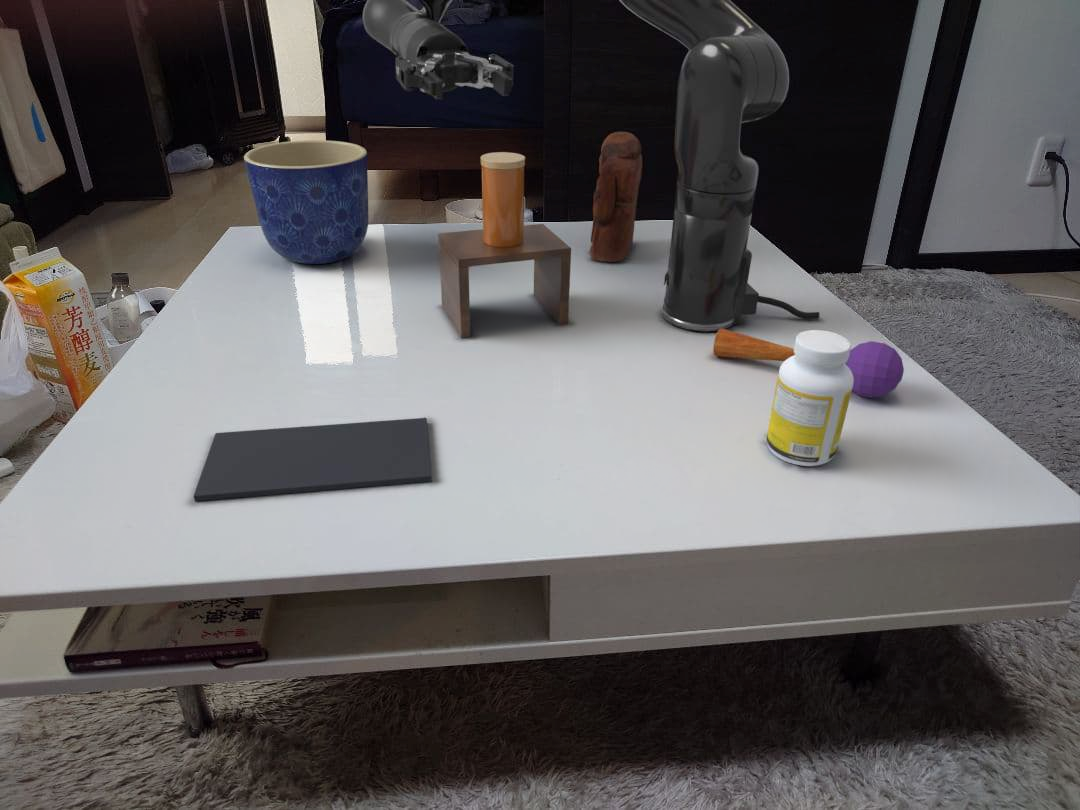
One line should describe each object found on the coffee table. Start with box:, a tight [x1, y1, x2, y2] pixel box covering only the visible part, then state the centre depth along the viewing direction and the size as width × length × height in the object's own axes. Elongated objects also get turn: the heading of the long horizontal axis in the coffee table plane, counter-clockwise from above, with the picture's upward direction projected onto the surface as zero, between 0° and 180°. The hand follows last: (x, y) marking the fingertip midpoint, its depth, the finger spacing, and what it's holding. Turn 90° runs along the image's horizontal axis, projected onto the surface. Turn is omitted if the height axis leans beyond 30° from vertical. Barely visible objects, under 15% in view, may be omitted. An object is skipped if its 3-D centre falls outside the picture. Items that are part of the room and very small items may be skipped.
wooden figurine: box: [589, 131, 643, 263], centre depth 117 cm, size 12×6×18 cm, turn 165°
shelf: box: [438, 223, 572, 339], centre depth 97 cm, size 14×10×10 cm
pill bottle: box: [765, 329, 854, 467], centre depth 71 cm, size 6×6×12 cm
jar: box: [480, 151, 526, 247], centre depth 92 cm, size 5×5×10 cm
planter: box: [243, 139, 370, 265], centre depth 114 cm, size 17×17×15 cm
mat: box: [193, 417, 433, 502], centre depth 71 cm, size 20×10×1 cm, turn 100°
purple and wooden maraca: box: [713, 328, 905, 399], centre depth 86 cm, size 6×6×20 cm
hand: (474, 89), depth 92 cm, fingers open, 8 cm apart
